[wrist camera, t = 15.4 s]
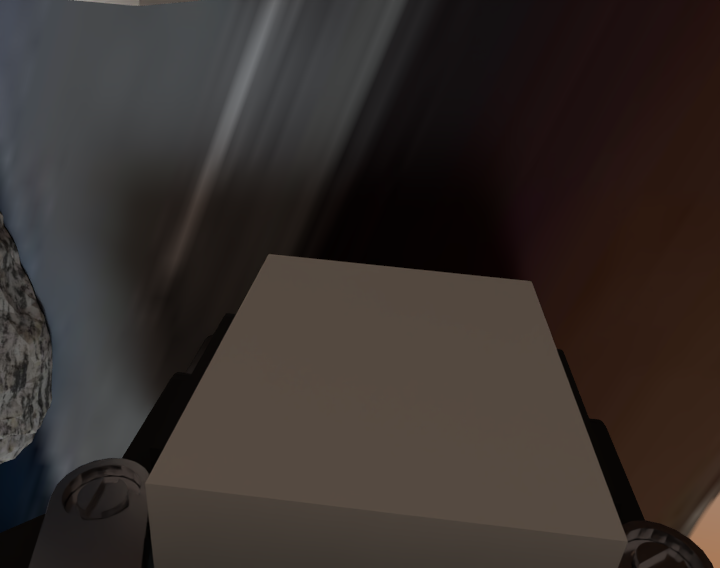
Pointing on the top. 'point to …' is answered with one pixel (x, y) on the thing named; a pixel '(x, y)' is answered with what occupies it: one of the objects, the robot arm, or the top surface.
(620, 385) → the top surface
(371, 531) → the white stepped block
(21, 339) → the rock
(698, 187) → the top surface
